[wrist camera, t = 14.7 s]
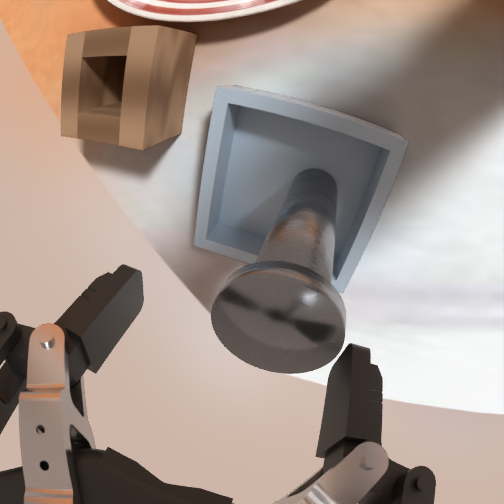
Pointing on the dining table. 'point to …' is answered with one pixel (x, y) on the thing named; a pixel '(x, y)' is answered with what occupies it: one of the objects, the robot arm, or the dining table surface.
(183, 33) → the block
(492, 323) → the dining table surface
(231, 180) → the tray
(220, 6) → the dinner plate
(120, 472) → the robot arm
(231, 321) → the pin
